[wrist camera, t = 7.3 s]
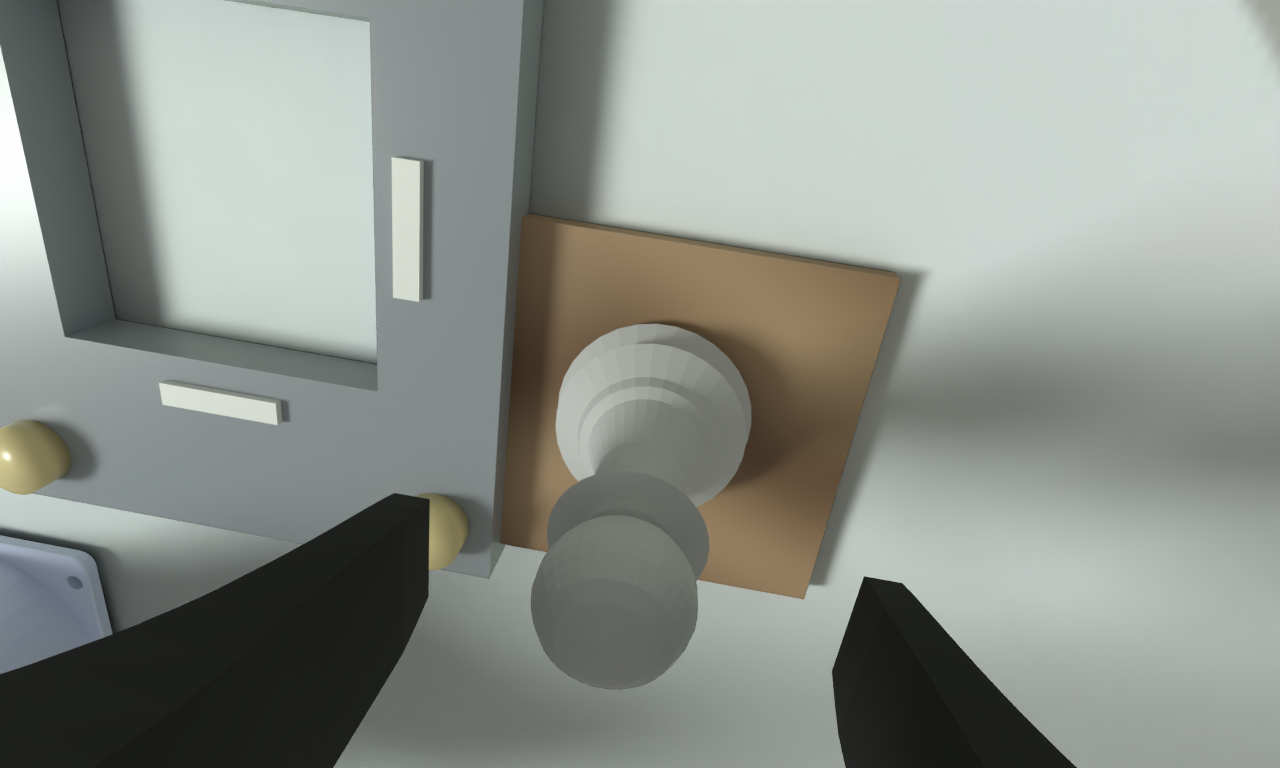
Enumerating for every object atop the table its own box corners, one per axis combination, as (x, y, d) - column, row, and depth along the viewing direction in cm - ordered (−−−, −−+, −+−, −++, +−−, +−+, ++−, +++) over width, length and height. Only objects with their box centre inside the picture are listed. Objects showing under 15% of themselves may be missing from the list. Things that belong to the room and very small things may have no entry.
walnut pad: (801, 584, 18) (804, 599, 18) (489, 527, 19) (482, 540, 18) (894, 272, 15) (901, 278, 14) (507, 210, 15) (500, 213, 15)
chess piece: (786, 371, 15) (850, 606, 8) (698, 520, 17) (684, 821, 10) (604, 286, 15) (498, 449, 8) (534, 447, 17) (394, 702, 10)
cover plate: (505, 544, 19) (479, 599, 17) (50, 461, 20) (-31, 502, 18) (562, -259, 12) (528, -337, 10) (-152, -348, 13) (-327, -441, 10)
